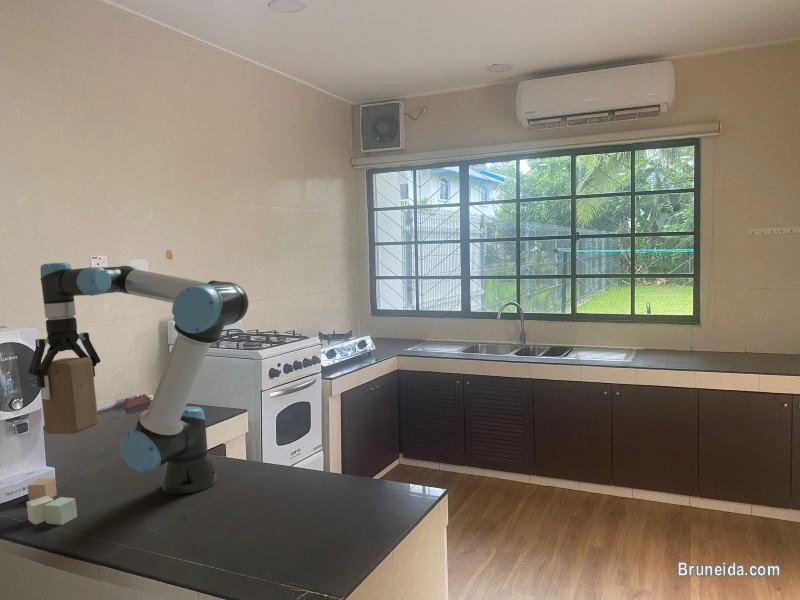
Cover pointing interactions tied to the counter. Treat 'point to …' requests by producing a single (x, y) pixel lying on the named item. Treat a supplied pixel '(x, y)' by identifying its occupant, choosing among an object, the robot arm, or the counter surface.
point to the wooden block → (70, 396)
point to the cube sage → (60, 510)
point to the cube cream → (37, 509)
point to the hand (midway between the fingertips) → (68, 393)
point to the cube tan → (42, 488)
